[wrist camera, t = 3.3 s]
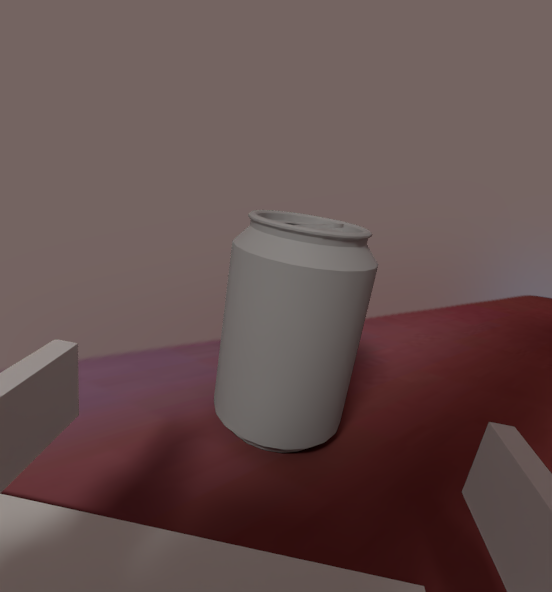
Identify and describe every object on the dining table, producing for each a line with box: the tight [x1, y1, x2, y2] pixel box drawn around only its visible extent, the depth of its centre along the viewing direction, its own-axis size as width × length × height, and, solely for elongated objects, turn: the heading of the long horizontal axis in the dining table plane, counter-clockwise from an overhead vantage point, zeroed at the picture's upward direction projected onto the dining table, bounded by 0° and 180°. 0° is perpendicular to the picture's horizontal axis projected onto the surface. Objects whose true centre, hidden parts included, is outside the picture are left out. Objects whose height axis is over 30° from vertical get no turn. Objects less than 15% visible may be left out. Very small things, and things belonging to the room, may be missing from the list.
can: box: [214, 210, 378, 453], centre depth 21 cm, size 8×8×12 cm
